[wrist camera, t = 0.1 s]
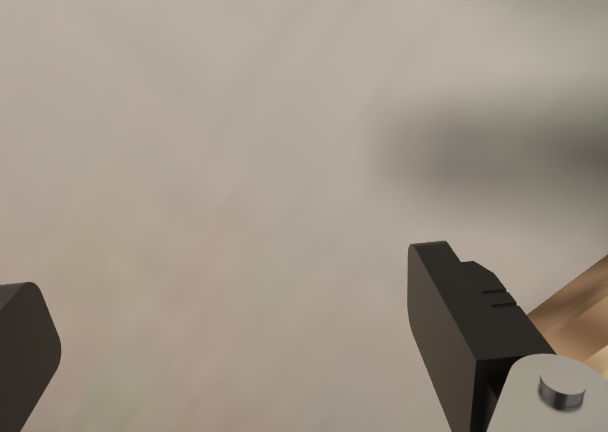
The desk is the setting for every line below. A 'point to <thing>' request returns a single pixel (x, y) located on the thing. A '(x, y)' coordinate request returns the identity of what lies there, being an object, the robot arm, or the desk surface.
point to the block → (599, 362)
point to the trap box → (577, 315)
